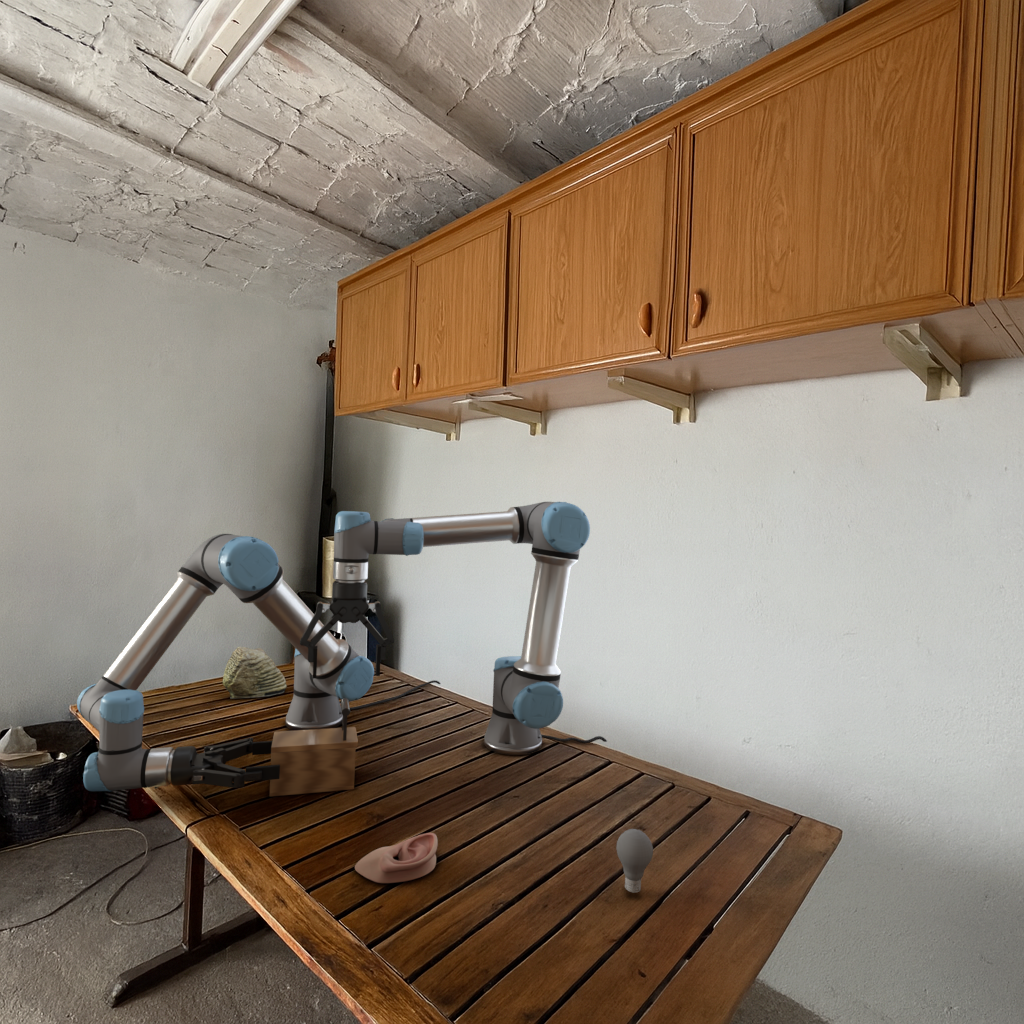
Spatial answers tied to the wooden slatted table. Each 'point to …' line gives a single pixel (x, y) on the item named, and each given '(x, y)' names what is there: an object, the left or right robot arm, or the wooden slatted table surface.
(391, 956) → the wooden slatted table surface
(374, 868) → the anatomical model
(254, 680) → the fossil
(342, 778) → the chest
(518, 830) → the wooden slatted table surface
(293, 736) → the lid
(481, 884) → the wooden slatted table surface
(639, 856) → the light bulb
